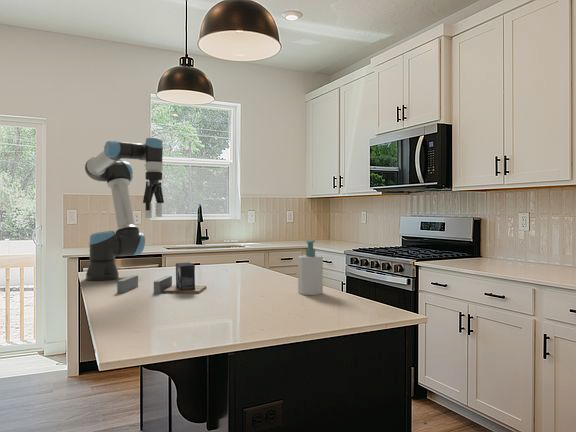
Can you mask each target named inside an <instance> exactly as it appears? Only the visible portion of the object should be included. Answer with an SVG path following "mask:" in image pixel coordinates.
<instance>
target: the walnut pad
mask: <svg viewBox="0 0 576 432" xmlns="http://www.w3.org/2000/svg"><path fill="white" fill-rule="evenodd" d="M206 289H207V285H195V290H183V291H181V290H180V289H179V288H177V287H176V284H175V285H173V284H172V286H171V287H169V288H167V289H165V290H164V291H163V292H162V293H163V294H193V295H194V294H200V293H202V292H203V291H204V290H206Z"/></svg>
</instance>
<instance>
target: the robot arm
mask: <svg viewBox="0 0 576 432" xmlns="http://www.w3.org/2000/svg"><path fill="white" fill-rule="evenodd" d="M163 148H164V145H163V139H162V138H159V137H146V139H145V143H138V142H127V141H126V142H125V141H118V140H117V141H116V140H107V141H106V142H105V144H104V148H103V149H104V150H102V152H100V153H99V154H97V156H94V157H90V158H89V159H88V160H87V161H86V162H85V165H84V170H85V173H86V175H87V176H88V177H89V178H90V179H92V180H94V181H97V182H106V185H107V187H109V188H110V189H111V195H112V201H113V206H114V212H115V213H114V214H115V219H116V225H117V226H116V227H117V229H116V231H115V230H104V231H98V232H94V233H91V234H90V235H89V243H88V245H89V265H88V267H87V271H86V274H85V280H87V281H110V280H116V279H119V278H120V277H119V274H120V273H119V271H118V267H117V264H116V257H127V256H129V257H130V256H132V257H133V256H138V255H140V254H142V253H143V251H144V249H145V246H146V236H145V234H144V233H143V232H140V228H139V227H138V226H137V225H136V223H135V218H134V213H133V207H132V202H131V196H130V190H129V186H130V184H131V182H132V181H133V177H134V176H133V174H134V173H133V168H132V165H131V164H130V162H128V161H125V160H121V159H127V160H139V161H145V164H144V166H145V180H146V181H145V188H144V189H145V190H144V194H143V199H142V204H144V205H145V206H144V208H145V210H144V211H145V212H144V216H145V217H144V218H145V219H147V218H148V219H151V218H153V217H152V216H153V215H152V214H153V213H152V212H153V211H152V210H153V207H152V206H153V205H152V201H153V197H154V199H155V201H156V203H155V217H158V218H160V217H161V218H162V216H163V204H164V203H165V202H164V201H165V200H164V195H163V189H162V182H160V181H162V180H163V172H162V171H163V169H164V167H163V154H164V153H163V152H164V151H163Z"/></svg>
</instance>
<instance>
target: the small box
mask: <svg viewBox="0 0 576 432" xmlns="http://www.w3.org/2000/svg"><path fill="white" fill-rule="evenodd" d="M195 268H196V266H195V264H193V263H191V262H190V261H189V262H177V263H175V285H176V287H177V288H179V289H180V290H181V291H183V290H195V286H196V278H195V277H196V276H195V275H196V273H195V271H196V269H195Z"/></svg>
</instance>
